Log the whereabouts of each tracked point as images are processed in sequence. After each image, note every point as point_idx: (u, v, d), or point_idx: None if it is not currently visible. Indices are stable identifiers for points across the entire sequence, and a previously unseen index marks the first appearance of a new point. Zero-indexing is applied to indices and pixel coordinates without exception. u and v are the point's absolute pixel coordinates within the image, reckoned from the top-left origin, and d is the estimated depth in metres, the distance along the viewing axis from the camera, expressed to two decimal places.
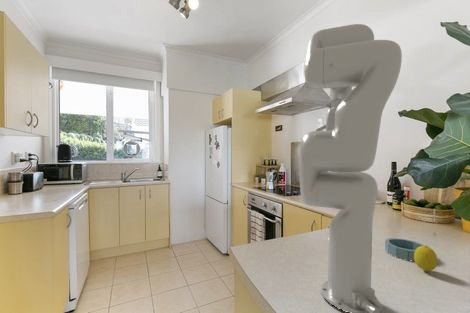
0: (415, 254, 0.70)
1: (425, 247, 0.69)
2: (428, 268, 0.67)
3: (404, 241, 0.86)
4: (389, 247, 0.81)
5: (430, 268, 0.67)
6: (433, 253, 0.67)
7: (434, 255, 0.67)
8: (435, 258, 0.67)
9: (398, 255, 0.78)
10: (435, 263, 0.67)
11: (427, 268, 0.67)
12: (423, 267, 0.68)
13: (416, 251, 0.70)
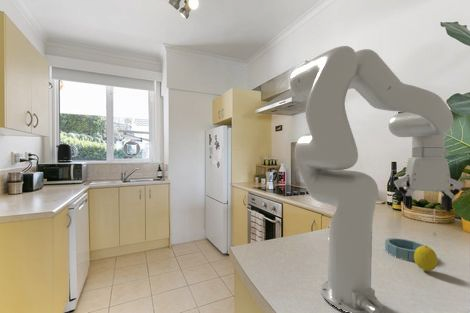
0: (415, 254, 0.70)
1: (425, 247, 0.69)
2: (428, 268, 0.67)
3: (404, 241, 0.86)
4: (389, 247, 0.81)
5: (430, 268, 0.67)
6: (433, 253, 0.67)
7: (434, 255, 0.67)
8: (435, 258, 0.67)
9: (398, 255, 0.78)
10: (435, 263, 0.67)
11: (427, 268, 0.67)
12: (423, 267, 0.68)
13: (416, 251, 0.70)
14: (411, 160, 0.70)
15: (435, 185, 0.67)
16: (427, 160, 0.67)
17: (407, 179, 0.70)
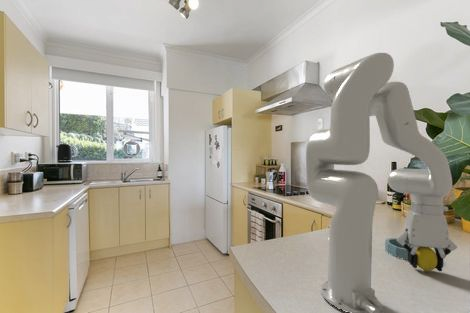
0: None
1: (425, 247, 0.69)
2: (428, 268, 0.67)
3: (404, 241, 0.86)
4: (389, 247, 0.81)
5: (430, 268, 0.67)
6: (433, 253, 0.67)
7: (434, 255, 0.67)
8: (435, 258, 0.67)
9: (398, 255, 0.78)
10: (435, 263, 0.67)
11: (427, 268, 0.67)
12: (423, 267, 0.68)
13: (416, 251, 0.70)
14: (410, 214, 0.70)
15: (434, 242, 0.67)
16: (426, 217, 0.67)
17: (408, 235, 0.70)
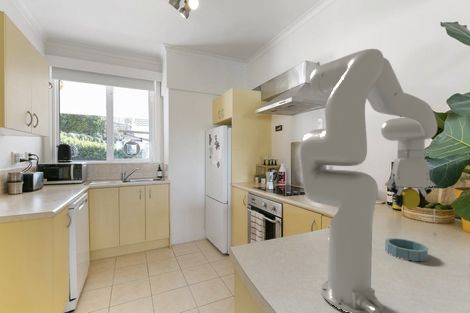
0: None
1: (409, 188, 0.79)
2: (412, 205, 0.77)
3: (404, 241, 0.86)
4: (389, 247, 0.81)
5: (413, 205, 0.77)
6: (416, 192, 0.77)
7: (417, 194, 0.77)
8: (418, 196, 0.77)
9: (398, 255, 0.78)
10: (418, 201, 0.77)
11: (411, 205, 0.77)
12: (407, 205, 0.78)
13: (402, 193, 0.80)
14: (396, 161, 0.80)
15: (416, 183, 0.77)
16: (409, 161, 0.77)
17: (394, 179, 0.80)
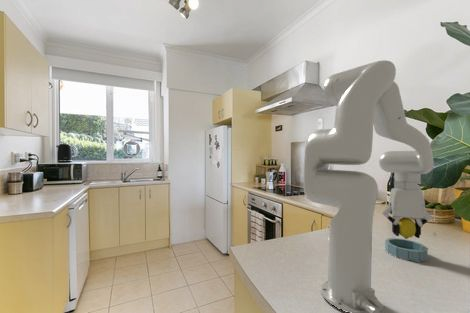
0: None
1: (406, 218, 0.81)
2: (408, 235, 0.79)
3: (404, 241, 0.86)
4: (389, 247, 0.81)
5: (409, 235, 0.79)
6: (412, 222, 0.79)
7: (413, 224, 0.79)
8: (414, 227, 0.79)
9: (398, 255, 0.78)
10: (414, 231, 0.79)
11: (407, 235, 0.79)
12: (404, 235, 0.80)
13: (398, 222, 0.82)
14: (393, 191, 0.82)
15: (412, 213, 0.79)
16: (406, 192, 0.79)
17: None
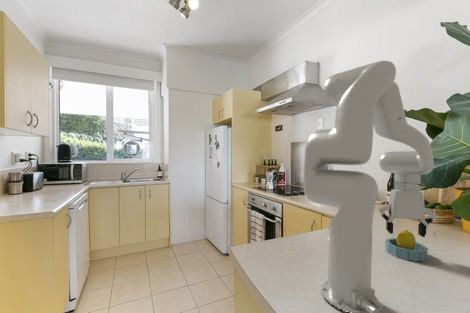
0: (397, 237, 0.82)
1: (405, 231, 0.81)
2: None
3: None
4: (389, 247, 0.81)
5: (409, 249, 0.79)
6: (412, 236, 0.79)
7: (413, 238, 0.79)
8: (413, 240, 0.79)
9: (398, 255, 0.78)
10: (413, 244, 0.79)
11: None
12: None
13: (398, 235, 0.82)
14: (393, 191, 0.82)
15: (412, 214, 0.79)
16: (406, 193, 0.79)
17: (389, 208, 0.82)
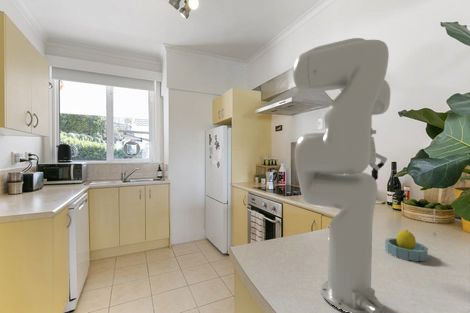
0: (397, 237, 0.82)
1: (405, 231, 0.81)
2: None
3: None
4: (389, 247, 0.81)
5: (409, 248, 0.79)
6: (412, 236, 0.79)
7: (413, 238, 0.79)
8: (413, 240, 0.79)
9: (398, 255, 0.78)
10: (413, 244, 0.79)
11: None
12: None
13: (398, 235, 0.82)
14: None
15: None
16: None
17: None
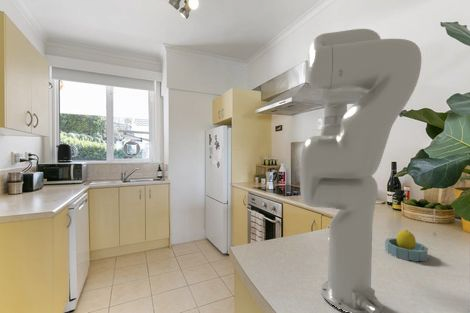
0: (397, 237, 0.82)
1: (405, 231, 0.81)
2: (407, 248, 0.79)
3: None
4: (389, 247, 0.81)
5: (409, 248, 0.79)
6: (412, 236, 0.79)
7: (413, 237, 0.79)
8: (413, 240, 0.79)
9: (398, 255, 0.78)
10: (413, 244, 0.79)
11: None
12: None
13: (398, 235, 0.82)
14: (322, 128, 0.82)
15: None
16: (332, 127, 0.80)
17: None
